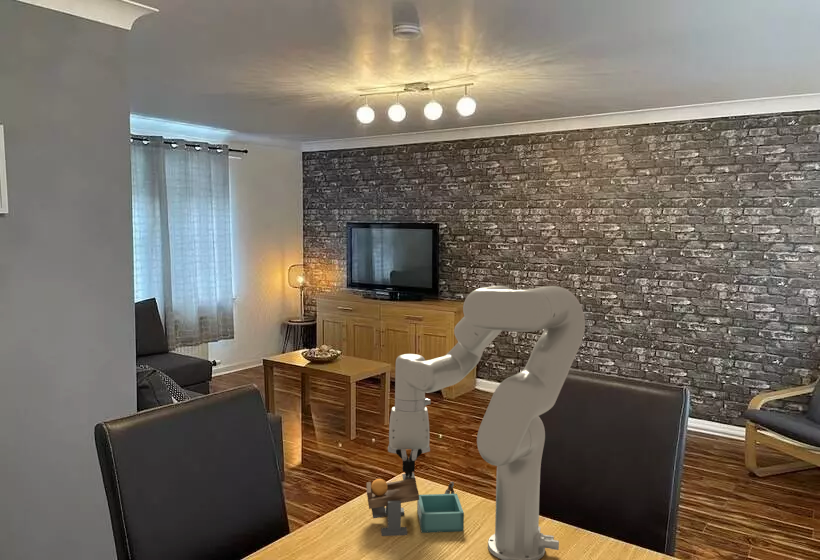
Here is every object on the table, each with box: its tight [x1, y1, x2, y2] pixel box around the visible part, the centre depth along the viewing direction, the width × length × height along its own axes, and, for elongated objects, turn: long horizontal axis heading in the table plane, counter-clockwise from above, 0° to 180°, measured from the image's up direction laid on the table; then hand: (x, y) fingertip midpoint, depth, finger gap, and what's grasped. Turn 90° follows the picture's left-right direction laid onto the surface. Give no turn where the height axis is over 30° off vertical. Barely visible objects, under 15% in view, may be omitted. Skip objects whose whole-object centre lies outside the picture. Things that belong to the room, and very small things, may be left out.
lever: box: [366, 472, 420, 519], centre depth 154 cm, size 12×14×6 cm
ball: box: [371, 478, 388, 496], centre depth 150 cm, size 4×4×4 cm
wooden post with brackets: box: [443, 481, 456, 494], centre depth 163 cm, size 2×8×4 cm, turn 152°
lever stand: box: [380, 501, 408, 537], centre depth 151 cm, size 6×12×8 cm, turn 5°
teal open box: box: [416, 493, 465, 534], centre depth 152 cm, size 10×11×4 cm
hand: (408, 474), depth 158 cm, fingers closed
